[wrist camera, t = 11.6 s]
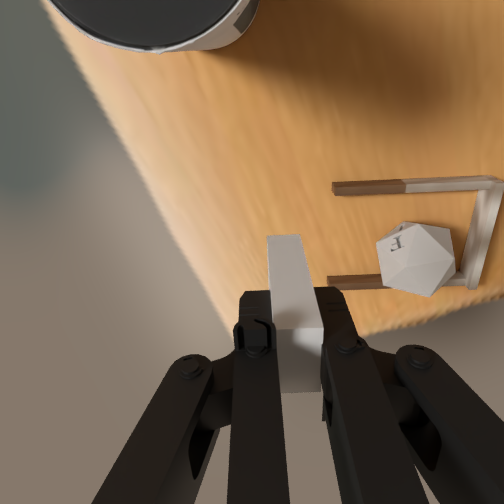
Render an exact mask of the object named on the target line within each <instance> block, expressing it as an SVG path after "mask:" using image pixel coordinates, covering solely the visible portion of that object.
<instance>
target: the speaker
mask: <svg viewBox="0 0 504 504" xmlns="http://www.w3.org/2000/svg"><path fill="white" fill-rule="evenodd" d="M47 1H48V2H49V3H50V4H51V5H52V6H53V8H54V9H55V10H56V11H57V12H58V13H59V14H60V15H61V16H62V17H63V18H64V19H65V20H66V21H68V22H69V23H70V24H72V25H73V26H74V27H75V28H76V29H77V30H78V31H79V32H81V33H82V34H84V35H86V36H87V37H89V38H90V39H92V40H95V41H97V42H100V43H102V44H105V45H109V46H112V47H115V48H119V49H124V50H129V51H134V52H151V53H157V54H162V53H164V52H177V51H195V50H210V49H217V48H221V47H224V46H226V45H229V44H231V43H232V42H234V41H235V40H237V39H238V38H239V37H240V36H242V34H243V33H244V32H245V31H246V30H247V29H248V28H249V26H250V25H251V23H252V21H253V19H254V17H255V15H256V12H257V10H258V6H259V1H260V0H47Z"/></svg>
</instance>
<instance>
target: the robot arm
mask: <svg viewBox="0 0 504 504" xmlns="http://www.w3.org/2000/svg"><path fill="white" fill-rule="evenodd" d="M267 254H268V281H269V290H260V291H245V292H244V294H243V295H242V296H241V298H240V301H239V321H238V323H237V324H236V325H235V326H234V329H233V336H234V346H235V349H234V351H233V352H231V353H230V354H229V355H227V356H226V357H224V358H221V359H218V360H215V361H212V362H211V361H210V360H209V359H208V358H207V357H205V356H202V355H199V354H191V355H187V356H183V357H181V358H179V359H178V360H176V361H175V362H174V363H173V364H172V365H171V367H170V368H169V370H168V372H167V373H166V375H165V377H164V378H163V380H162V382H161V384H160V386H159V387H158V389H157V391H156V392H155V394H154V396H153V398H152V399H151V401H150V403H149V404H148V406H147V408H146V410H145V411H144V413H143V415H142V417H141V418H140V420H139V422H138V424H137V425H136V427H135V429H134V431H133V433H132V434H131V436H130V437H129V439H128V441H127V443H126V444H125V446H124V448H123V450H122V451H121V453H120V455H119V457H118V458H117V460H116V462H115V463H114V465H113V467H112V469H111V471H110V472H109V474H108V476H107V477H106V479H105V481H104V483H103V484H102V486H101V488H100V489H99V491H98V493H97V495H96V496H95V498H94V500H93V502H92V503H91V504H194V502H195V500H196V497H197V494H198V491H199V488H200V485H201V483H202V480H203V477H204V474H205V471H206V468H207V465H208V463H209V460H210V457H211V454H212V451H213V449H214V446H215V443H216V440H217V437H218V434H219V432H220V428H221V427H224V426H227V425H230V424H231V434H230V454H229V473H228V490H227V492H228V493H227V504H290V498H289V487H288V475H287V463H286V451H285V439H284V428H283V416H282V405H281V393H298V392H320V391H321V384H322V389H323V414H322V421H326V424H327V429H328V434H329V439H330V444H331V449H332V455H333V460H334V464H335V470H336V475H337V481H338V486H339V491H340V496H341V501H342V504H429V502H428V499H427V497H426V494H425V491H424V489H423V486H422V483H421V481H420V478H419V476H418V473H417V470H416V468H417V469H418V471H419V472H420V474H421V475H422V477H423V478H424V480H425V481H426V483H427V485H428V486H429V488H430V489H431V491H432V492H433V494H434V495H435V497H436V499H437V500H438V502H439V503H440V504H504V422H503V421H502V420H501V419H500V418H499V417H498V416H497V415H496V414H495V413H494V412H493V410H492V409H491V408H490V407H489V406H488V405H487V404H486V403H485V402H484V401H483V400H482V399H481V398H480V397H479V396H478V395H477V394H476V393H475V392H474V391H473V390H472V389H471V388H470V387H469V386H468V385H467V384H466V383H465V382H464V380H463V379H462V378H461V377H460V376H459V375H458V374H457V373H456V372H455V371H454V370H453V369H452V368H451V367H450V366H449V365H448V364H447V363H446V362H445V361H444V360H443V359H442V358H441V357H440V356H439V355H438V354H437V353H436V352H434V351H433V350H431V349H429V348H427V347H424V346H420V345H406V346H403V347H401V348H400V349H399V350H398V351H397V352H396V354H391V353H386V352H381V351H377V350H374V349H372V348H370V347H369V346H368V344H367V343H366V341H365V340H364V339H362V338H361V337H360V336H358V333H357V331H356V328H355V325H354V322H353V320H352V317H351V314H350V312H349V309H348V306H347V304H346V301H345V298H344V295H343V293H342V292H341V291H339V290H338V289H337V288H336V287H335V286H332V287H313V284H312V280H311V276H310V272H309V268H308V264H307V261H306V257H305V253H304V249H303V245H302V241H301V237H300V234H293V235H272V236H267ZM415 466H416V468H415Z"/></svg>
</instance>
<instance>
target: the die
mask: <svg viewBox="0 0 504 504" xmlns="http://www.w3.org/2000/svg"><path fill="white" fill-rule="evenodd" d="M376 246H377V252H378V258H379V264H380V270H381V276H382V282H383V286H387V287H391V288H395V289H399V290H403V291H407V292H410V293H414V294H418V295H422V296H426V297H431V296H432V295H433V294H434V293H435V292H436V291H437V290H438V289H439V288H440V287H441V286H442V285H443V284H444V283H445V282H446V281H447V280H448V279H449V278H450V277H452V276H453V275H454V274H455V273H456V268H455V257H454V252H453V246H452V240H451V235H450V229H448V228H442V227H436V226H430V225H424V224H418V223H411V222H405V221H403V222H402V223H400V224H399V225H398V226H397V227H395V228H394V229H393V230H392V231H390V232H389V233H388V234H386V235H385V236H384V237H383V238H381V239H380V240H379V241H378V242H376Z"/></svg>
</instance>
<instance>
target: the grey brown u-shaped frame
mask: <svg viewBox="0 0 504 504" xmlns="http://www.w3.org/2000/svg"><path fill="white" fill-rule="evenodd" d="M459 190H478V194H477V198H476V203H475V207H474V211H473V215H472V219H471V223H470V228H469V232H468V236H467V240H466V244H465V248H464V253H463V257H462V261H461V265H460V269H459V271H456V273H455V274H454V275H453V276H452V277H450V278H449V279H448V280H447V281H446V282H445V283H444V284H443V285H442V286H464V285H465V286H466V287H467V288H468V289H469V290H475V289H477V287H478V283H479V279H480V276H481V272H482V268H483V265H484V261H485V257H486V254H487V250H488V246H489V243H490V239H491V235H492V232H493V228H494V224H495V221H496V217H497V213H498V209H499V206H500V202H501V198H502V195H503V191H504V182H503V181H501V180H499V179H497V178H495V177H493V176H491V175H483V176H460V177H438V178H416V179H393V180H371V181H349V182H332V192H333V193H334V195H335V196H346V195H369V194H391V193H414V192H437V191H459ZM327 284H328V287H332V286H335V287H336V288H337V289H338V290H361V289H387V288H391V287H387V286H383V282H382V276H381V274H370V275H345V276H327Z"/></svg>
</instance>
